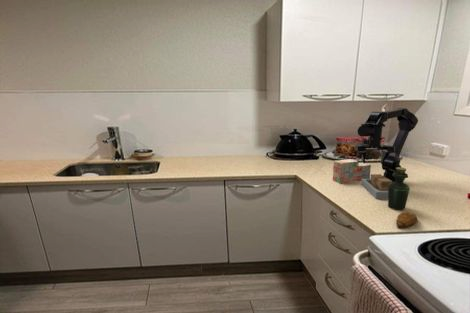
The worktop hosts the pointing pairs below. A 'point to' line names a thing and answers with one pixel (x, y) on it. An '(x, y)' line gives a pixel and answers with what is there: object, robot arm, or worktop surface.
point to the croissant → (406, 220)
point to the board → (380, 182)
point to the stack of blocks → (350, 171)
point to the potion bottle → (398, 190)
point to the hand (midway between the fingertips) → (372, 163)
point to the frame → (374, 190)
